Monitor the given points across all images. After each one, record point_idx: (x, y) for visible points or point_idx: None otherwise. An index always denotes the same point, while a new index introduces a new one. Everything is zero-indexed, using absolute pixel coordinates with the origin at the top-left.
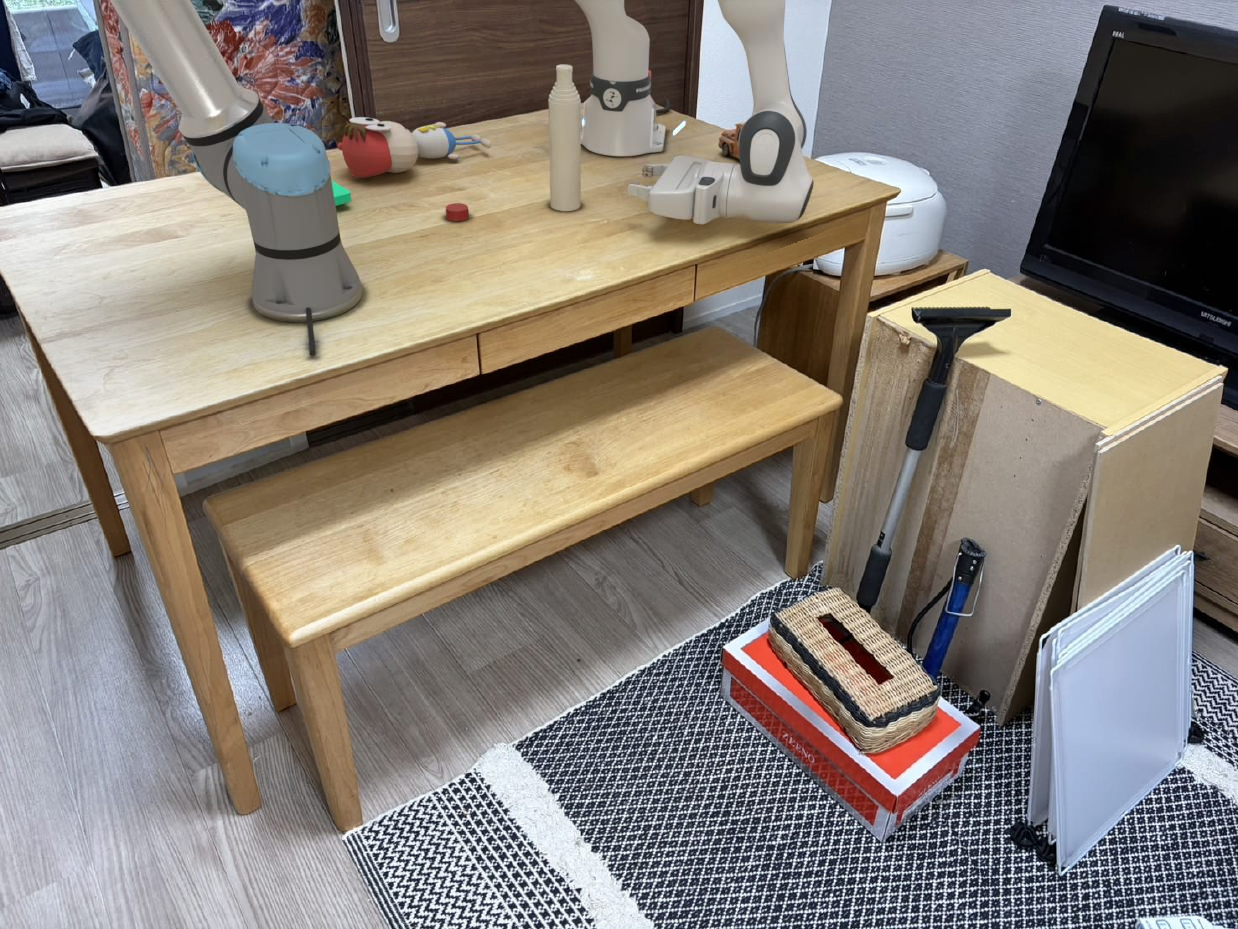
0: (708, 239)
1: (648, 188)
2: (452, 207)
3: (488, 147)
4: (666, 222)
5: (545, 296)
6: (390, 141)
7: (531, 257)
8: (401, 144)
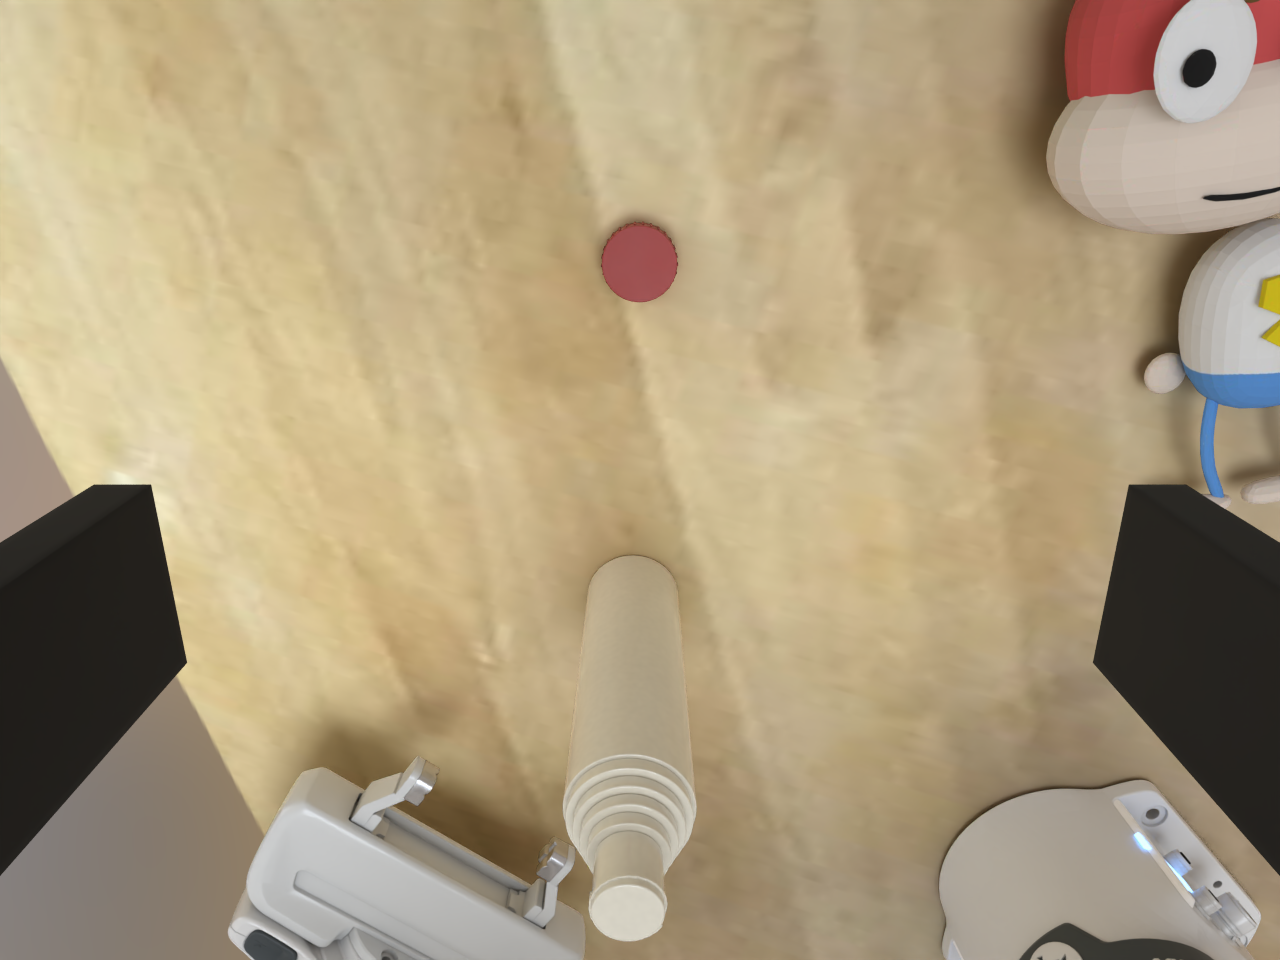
0: None
1: (362, 812)
2: (641, 249)
3: None
4: (440, 792)
5: (22, 362)
6: (1128, 105)
7: (282, 398)
8: (1091, 151)
